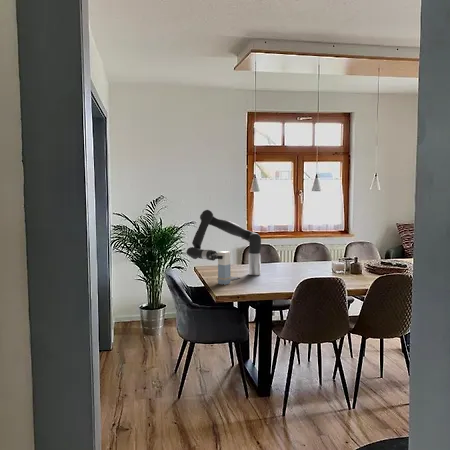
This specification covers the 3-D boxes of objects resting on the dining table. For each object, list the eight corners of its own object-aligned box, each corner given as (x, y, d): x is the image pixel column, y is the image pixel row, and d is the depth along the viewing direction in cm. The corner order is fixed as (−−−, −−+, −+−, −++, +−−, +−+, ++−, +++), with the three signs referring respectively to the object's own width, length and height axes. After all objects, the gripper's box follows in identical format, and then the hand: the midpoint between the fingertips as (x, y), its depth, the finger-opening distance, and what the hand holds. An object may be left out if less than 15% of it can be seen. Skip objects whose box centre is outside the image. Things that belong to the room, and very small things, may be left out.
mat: (227, 276, 363) (227, 275, 363) (239, 278, 355) (239, 277, 355) (217, 278, 353) (217, 278, 353) (229, 280, 346) (229, 280, 346)
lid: (223, 263, 340) (223, 251, 339) (230, 264, 336) (230, 251, 335) (217, 264, 335) (217, 252, 334) (224, 265, 331) (224, 252, 330)
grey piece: (223, 282, 341) (223, 263, 340) (230, 283, 337) (230, 264, 336) (217, 283, 336) (217, 264, 335) (224, 284, 332) (224, 265, 331)
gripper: (202, 250, 338) (219, 252, 328) (215, 248, 349) (232, 250, 339) (202, 261, 339) (219, 263, 329) (215, 258, 350) (232, 260, 340)
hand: (226, 256), depth 334 cm, fingers open, 8 cm apart
